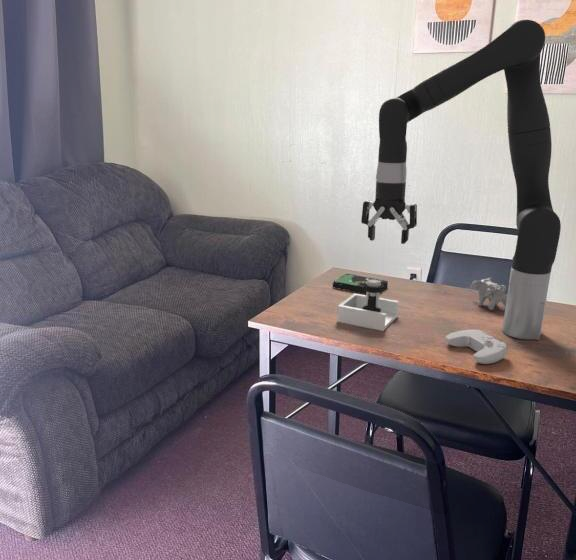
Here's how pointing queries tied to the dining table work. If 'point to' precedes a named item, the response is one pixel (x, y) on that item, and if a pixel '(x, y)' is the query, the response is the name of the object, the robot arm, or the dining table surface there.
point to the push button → (372, 295)
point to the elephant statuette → (490, 292)
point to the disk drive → (355, 283)
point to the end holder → (367, 312)
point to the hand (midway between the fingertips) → (387, 241)
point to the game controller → (479, 345)
